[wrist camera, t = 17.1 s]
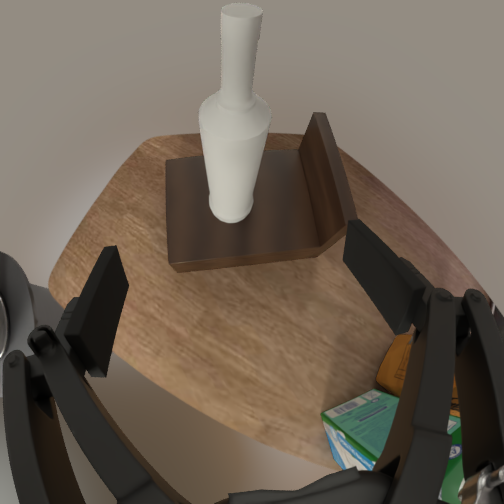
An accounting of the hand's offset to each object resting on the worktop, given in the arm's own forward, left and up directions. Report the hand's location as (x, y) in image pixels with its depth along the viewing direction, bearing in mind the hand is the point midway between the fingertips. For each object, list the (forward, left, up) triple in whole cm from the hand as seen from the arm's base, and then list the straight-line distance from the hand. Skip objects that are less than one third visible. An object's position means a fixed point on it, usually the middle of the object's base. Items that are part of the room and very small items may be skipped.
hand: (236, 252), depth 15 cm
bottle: (+1, +10, -17) cm, 20 cm away
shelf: (+2, +11, -23) cm, 25 cm away
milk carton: (+15, -22, -23) cm, 35 cm away
